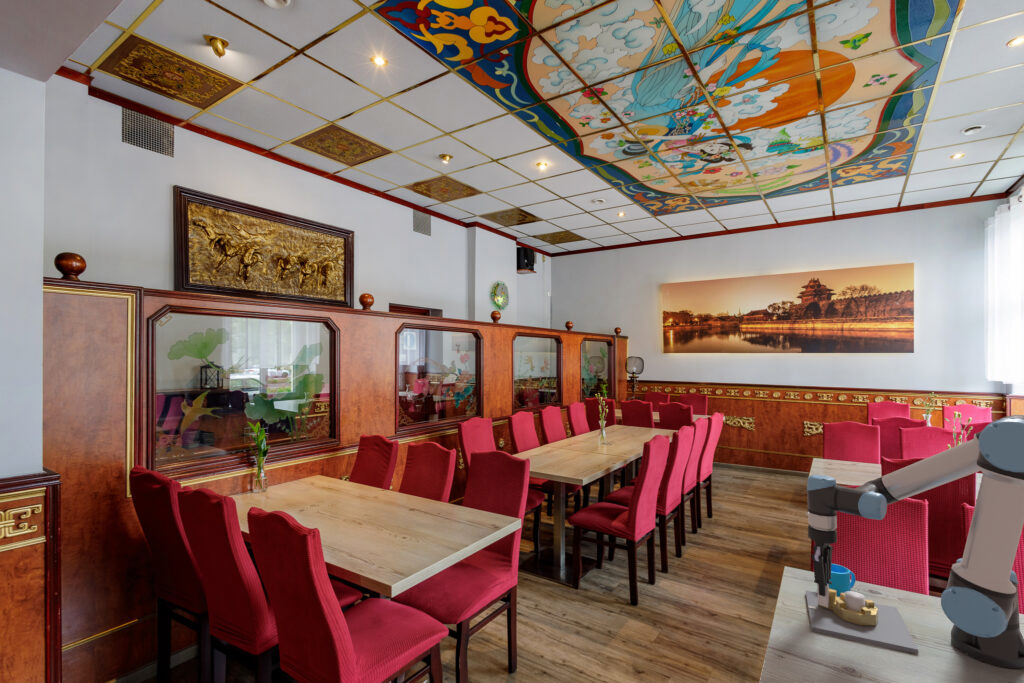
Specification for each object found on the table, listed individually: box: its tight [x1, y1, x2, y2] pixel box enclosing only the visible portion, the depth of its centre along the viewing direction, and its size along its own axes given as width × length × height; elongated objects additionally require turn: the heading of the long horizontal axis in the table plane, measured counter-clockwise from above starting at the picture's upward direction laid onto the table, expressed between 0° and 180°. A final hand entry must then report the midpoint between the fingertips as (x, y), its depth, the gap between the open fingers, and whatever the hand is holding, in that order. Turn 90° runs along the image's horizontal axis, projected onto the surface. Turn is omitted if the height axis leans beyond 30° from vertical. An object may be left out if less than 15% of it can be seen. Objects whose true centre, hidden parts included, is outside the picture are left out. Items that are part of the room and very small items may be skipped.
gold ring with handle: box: [816, 589, 878, 626], centre depth 145 cm, size 15×10×6 cm
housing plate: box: [805, 590, 919, 655], centre depth 143 cm, size 24×24×8 cm
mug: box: [827, 563, 857, 597], centre depth 160 cm, size 12×8×8 cm
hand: (823, 605), depth 146 cm, fingers closed
